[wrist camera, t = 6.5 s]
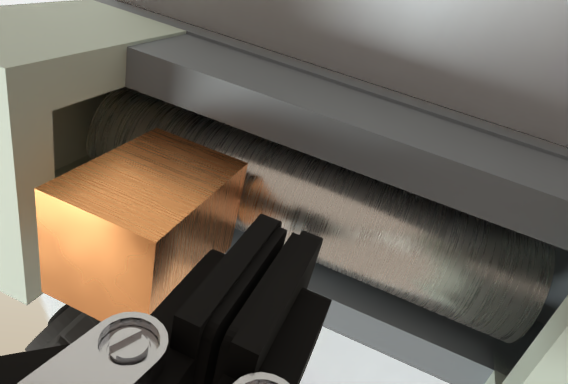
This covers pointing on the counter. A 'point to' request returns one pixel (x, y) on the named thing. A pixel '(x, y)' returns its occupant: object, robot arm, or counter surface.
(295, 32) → the counter surface
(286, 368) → the robot arm
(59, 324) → the flashlight
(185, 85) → the toy lathe
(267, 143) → the hammer
